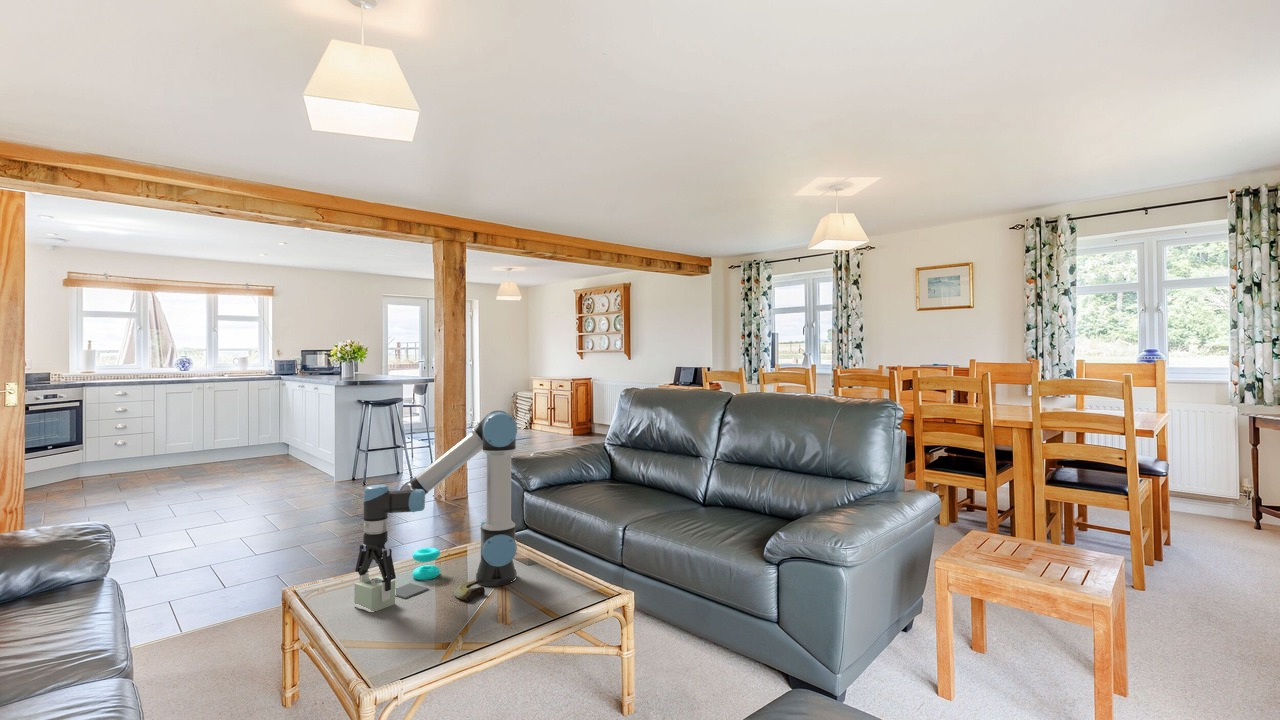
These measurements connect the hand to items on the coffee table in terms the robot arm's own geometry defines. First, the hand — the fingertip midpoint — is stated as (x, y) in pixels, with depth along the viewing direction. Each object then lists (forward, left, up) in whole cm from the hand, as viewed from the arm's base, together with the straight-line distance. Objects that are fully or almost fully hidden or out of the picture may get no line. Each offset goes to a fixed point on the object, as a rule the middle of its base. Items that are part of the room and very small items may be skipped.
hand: (374, 596), depth 198 cm
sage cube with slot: (0, 0, -3) cm, 3 cm away
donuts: (+8, -28, -3) cm, 29 cm away
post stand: (0, 0, -3) cm, 3 cm away
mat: (+1, -14, -3) cm, 14 cm away
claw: (-19, -25, -4) cm, 32 cm away
